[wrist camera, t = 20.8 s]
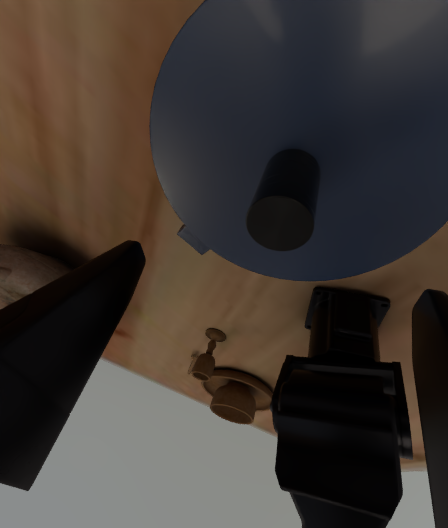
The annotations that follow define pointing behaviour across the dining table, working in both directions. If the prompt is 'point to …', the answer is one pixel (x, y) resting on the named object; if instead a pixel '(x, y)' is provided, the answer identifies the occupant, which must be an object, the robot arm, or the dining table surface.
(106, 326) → the robot arm
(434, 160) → the lid
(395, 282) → the dining table surface
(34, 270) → the cooking pot
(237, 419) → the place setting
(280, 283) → the dining table surface
